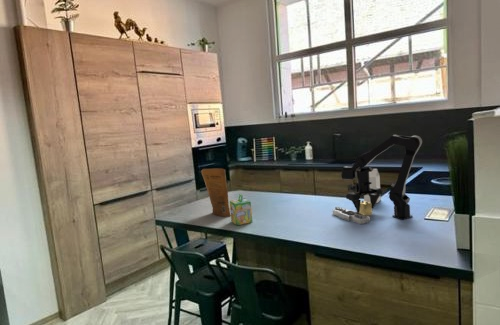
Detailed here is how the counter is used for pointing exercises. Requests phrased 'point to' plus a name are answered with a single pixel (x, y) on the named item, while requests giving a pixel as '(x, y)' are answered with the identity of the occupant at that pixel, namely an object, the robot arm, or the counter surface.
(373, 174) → the milk carton
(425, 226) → the counter surface
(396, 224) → the counter surface
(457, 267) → the counter surface
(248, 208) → the chalk box
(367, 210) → the studded golden block
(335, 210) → the chrome-studded grey beam
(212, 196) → the pancake mix bag
